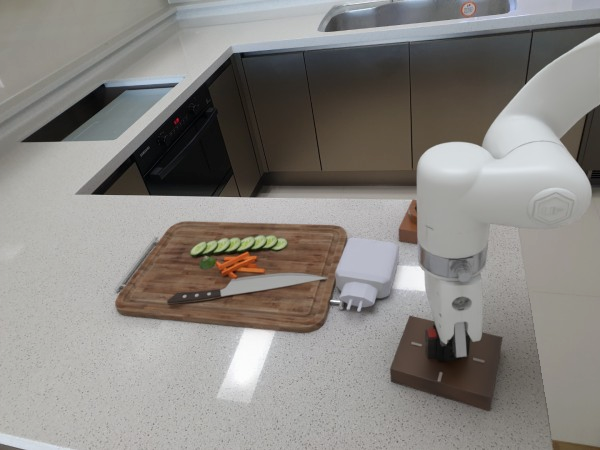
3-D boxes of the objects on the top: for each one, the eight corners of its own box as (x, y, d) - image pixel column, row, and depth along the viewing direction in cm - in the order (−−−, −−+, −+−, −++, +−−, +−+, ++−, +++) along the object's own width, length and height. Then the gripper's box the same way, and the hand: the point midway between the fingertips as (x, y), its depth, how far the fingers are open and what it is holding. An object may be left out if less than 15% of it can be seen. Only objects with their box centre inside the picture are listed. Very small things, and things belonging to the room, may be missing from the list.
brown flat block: (500, 350, 66) (502, 336, 64) (490, 411, 59) (492, 397, 57) (409, 328, 71) (409, 314, 69) (390, 381, 64) (389, 367, 63)
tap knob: (465, 345, 64) (467, 324, 61) (468, 355, 62) (470, 333, 60) (425, 349, 64) (425, 328, 61) (427, 359, 63) (427, 338, 60)
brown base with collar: (473, 219, 90) (475, 198, 87) (464, 251, 83) (465, 230, 80) (412, 211, 95) (412, 191, 92) (399, 241, 88) (398, 220, 85)
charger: (326, 315, 75) (348, 255, 86) (382, 326, 72) (398, 263, 83) (324, 295, 72) (347, 236, 83) (382, 305, 69) (399, 243, 80)
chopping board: (362, 230, 92) (361, 218, 91) (337, 336, 72) (335, 323, 70) (167, 225, 106) (162, 214, 104) (100, 313, 85) (93, 301, 84)
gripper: (511, 295, 46) (494, 400, 56) (465, 206, 58) (459, 306, 69) (434, 304, 46) (432, 406, 57) (405, 213, 59) (408, 311, 70)
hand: (447, 350), depth 63 cm, fingers closed on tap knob
